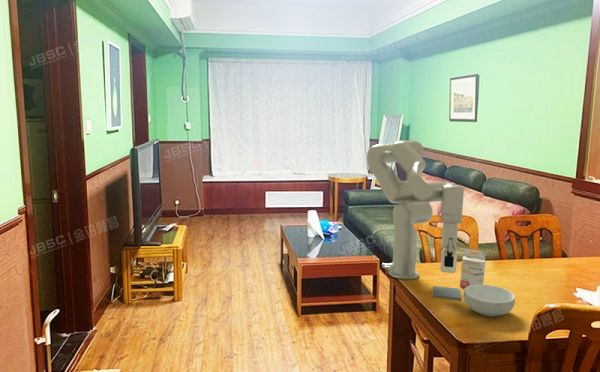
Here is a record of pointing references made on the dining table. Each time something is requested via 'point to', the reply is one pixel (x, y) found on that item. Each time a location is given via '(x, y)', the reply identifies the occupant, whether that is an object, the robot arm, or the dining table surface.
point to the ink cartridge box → (472, 268)
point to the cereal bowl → (489, 299)
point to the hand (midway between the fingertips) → (448, 264)
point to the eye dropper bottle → (448, 269)
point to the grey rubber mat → (446, 293)
